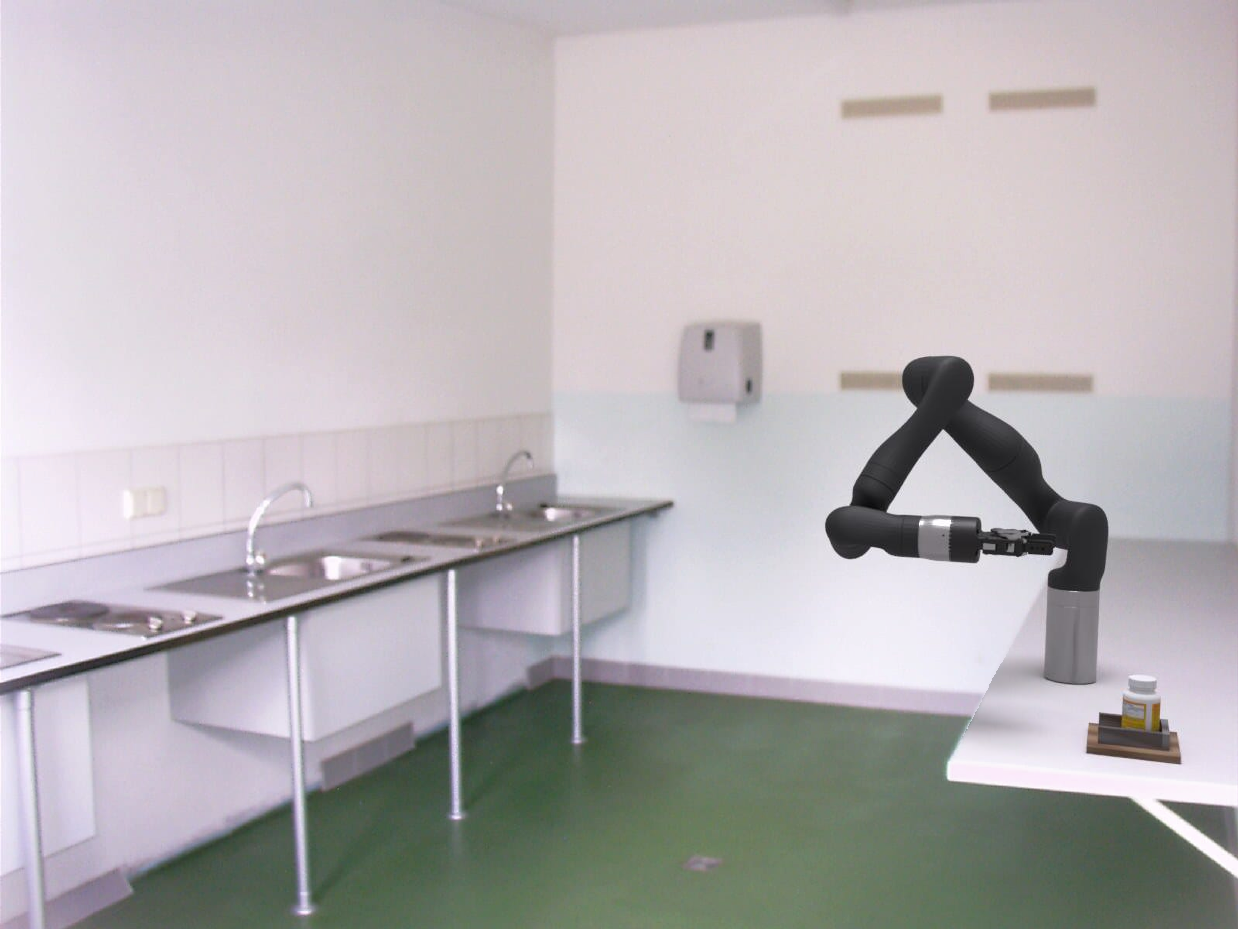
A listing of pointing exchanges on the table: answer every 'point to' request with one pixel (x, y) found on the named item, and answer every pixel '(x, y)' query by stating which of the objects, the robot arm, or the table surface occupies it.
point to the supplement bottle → (1141, 704)
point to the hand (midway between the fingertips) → (1054, 544)
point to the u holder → (1132, 740)
